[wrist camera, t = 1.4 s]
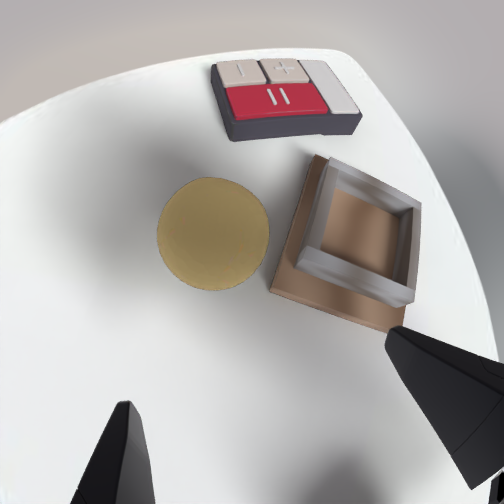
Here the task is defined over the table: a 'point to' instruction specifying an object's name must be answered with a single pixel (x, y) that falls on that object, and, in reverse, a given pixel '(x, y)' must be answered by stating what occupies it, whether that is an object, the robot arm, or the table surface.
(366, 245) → the square frame
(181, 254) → the light bulb
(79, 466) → the table surface
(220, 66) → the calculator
